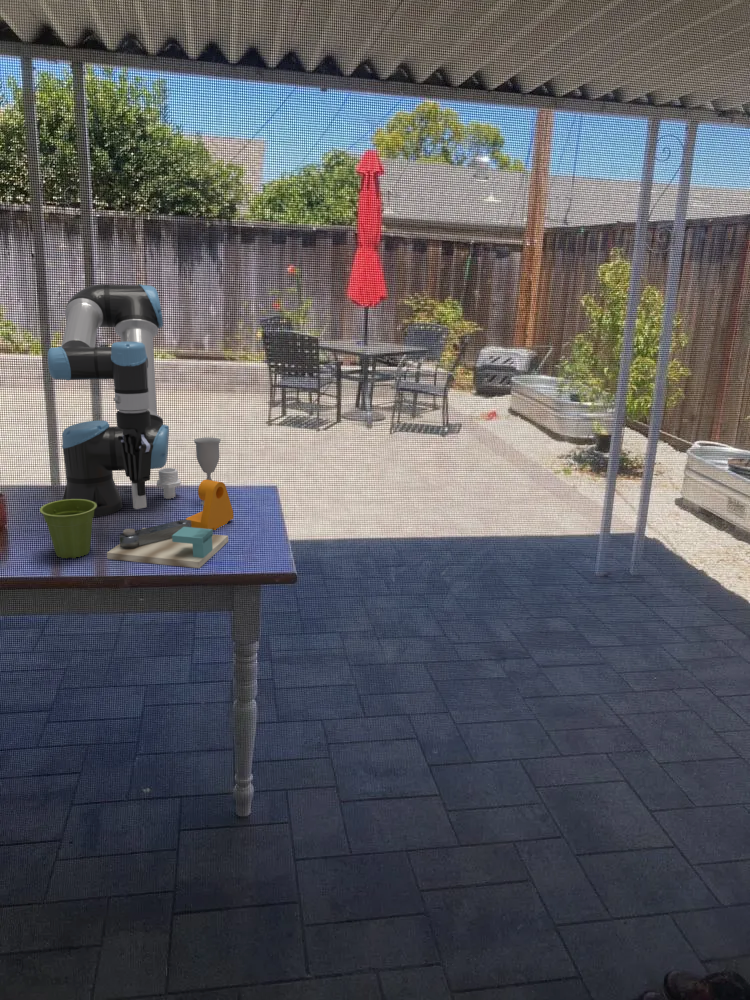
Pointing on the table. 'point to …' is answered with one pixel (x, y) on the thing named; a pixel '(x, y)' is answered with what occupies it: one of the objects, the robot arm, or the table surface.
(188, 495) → the table surface
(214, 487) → the bracket
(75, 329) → the robot arm
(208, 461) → the chalice
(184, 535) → the block
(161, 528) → the link
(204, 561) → the base board
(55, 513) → the plant pot
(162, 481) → the pipe fitting
